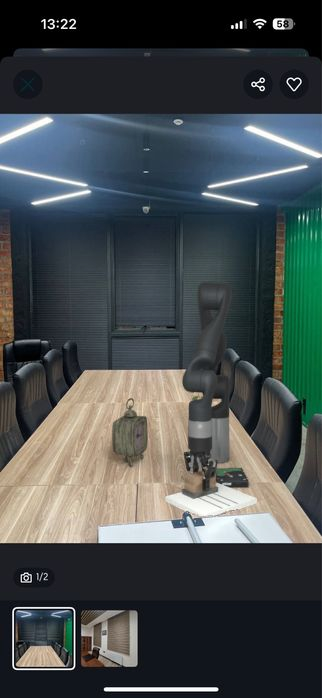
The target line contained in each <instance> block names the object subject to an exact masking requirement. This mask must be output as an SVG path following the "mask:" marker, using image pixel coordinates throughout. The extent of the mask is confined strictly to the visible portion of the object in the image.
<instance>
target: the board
mask: <svg viewBox="0 0 322 698" xmlns="http://www.w3.org/2000/svg"><path fill="white" fill-rule="evenodd" d="M216 486H217V487H218V492H216V493H213V494H209V495H206V496H202V497H199V498H196V499H192V498H190V497H188V496H186V495H183V494H182V491H181V492H177V493H173V494H170V495H166V496H165V498H164V501H165V502H166V503H168V504H170V505H171V506H173V507H176V508H177V509H180V510H182V511H184V512H186V511H190V512H192V513H195V514H198V515H199V516H207V515H213V516H214V515H217V514H221V513H223V512H225V511H229V510H235V511H237V510H236V509H238V510H240V509H243V508H247V507H251V506H253V505H257V504H258V498H256V497H255V496H252V495H249V494H246V493H244V492H241V491H239V490H237V489H235V488H229V487H227V486H224V485H222V484H219V483H216Z"/></svg>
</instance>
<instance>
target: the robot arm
mask: <svg viewBox="0 0 322 698" xmlns="http://www.w3.org/2000/svg"><path fill="white" fill-rule="evenodd" d="M232 294H233V292H232V287H231V285H230V284H229V283H225V282H214V281H203V282H202V281H201V283H199V285H198V288H197V296H196V298H197V307H198V315H199V322H200V323H199V327H200V328H199V329H200V332H199V335H198V336H197V339H196V341H195V347H194V351H193V355H192V357H191V359H190V361H189V364H188V366H187V368H185V371H184V372H183V376H182V378H181V379H182V380H181V381H182V382H181V384H182V387H183V388H184V390H185V391H186V392H188V393H191V392H194V393H199V394H200V393H201V394H202V396H203V398H202V399H200V398H198V399H197V400H192V399H191V400H190V401H189V402H188V422H187V448H188V450H189V451H185V452H183V456H184V457H183V458H184V463H185V464H184V465H185V469H186V472H188V473H189V474H190V473H194V472H198V471H200V472H201V473H202V478H203V479H202V490H203V491H208V490H209V488H210V478H214V477H215V473H216V468H218V463H219V464H220V463H221V464H223V463H227V462H229V461H230V394H231V393H230V392H231V380H230V377H229V376H228V375H224V374H222V375H221V374H219V375H218V374H216V373H215V371H214V370H215V369H216V368H217V366H218V365H219V364H220V363H221V362H222V360H223V359H224V358H225V356H226V353H227V337H226V334H225V332H224V326H225V324H226V323H225V322H226V319H227V317H228V313H229V310H230V307H231V302H232V296H233V295H232ZM211 311H217V312H216V314H215V316H213V314H212V312H211ZM213 400H220V402H218V403H217V404H215V405H213ZM205 471H206V473H207V475H205ZM211 472H212V473H211Z"/></svg>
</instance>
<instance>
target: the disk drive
mask: <svg viewBox="0 0 322 698" xmlns="http://www.w3.org/2000/svg"><path fill="white" fill-rule="evenodd" d="M216 482H217V483H219V484H222V485H224V486H227V487H229V488H232V489H235V488H236V489H237V488H238V489H240V488H242V489H243V488H245V489H246V488H249V486H250V485H249V478H248V477H247V475H246V474H245V471H244V469H243V468H242V467H227V468H226V467H224V468H223V467H217V468H216Z"/></svg>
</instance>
